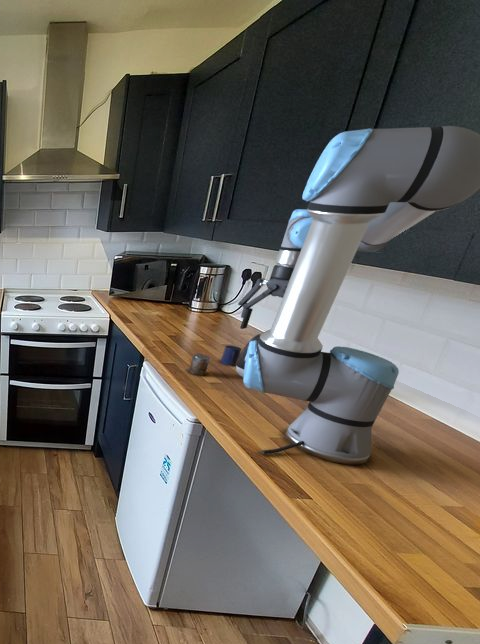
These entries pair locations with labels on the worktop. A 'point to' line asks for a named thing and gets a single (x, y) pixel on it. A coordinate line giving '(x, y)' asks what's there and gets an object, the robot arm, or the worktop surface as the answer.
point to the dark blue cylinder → (230, 355)
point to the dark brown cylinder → (199, 364)
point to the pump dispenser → (244, 357)
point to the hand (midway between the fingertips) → (265, 333)
